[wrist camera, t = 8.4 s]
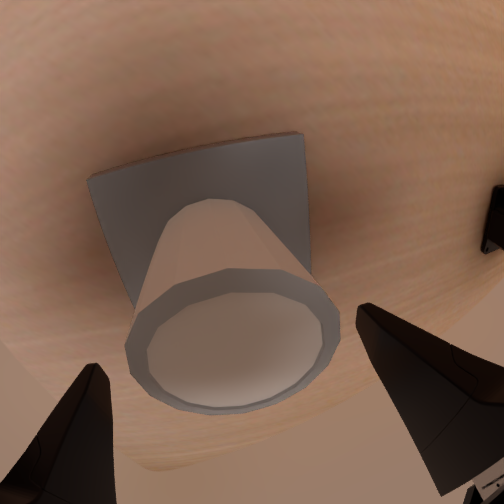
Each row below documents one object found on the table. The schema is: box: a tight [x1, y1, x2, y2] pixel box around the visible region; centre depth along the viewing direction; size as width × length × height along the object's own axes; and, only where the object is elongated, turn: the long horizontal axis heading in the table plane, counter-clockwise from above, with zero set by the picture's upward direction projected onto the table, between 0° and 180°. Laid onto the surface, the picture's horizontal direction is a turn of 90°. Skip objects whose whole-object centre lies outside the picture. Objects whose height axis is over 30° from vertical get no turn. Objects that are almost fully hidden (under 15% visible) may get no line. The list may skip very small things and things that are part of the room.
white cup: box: [125, 198, 340, 415], centre depth 12 cm, size 7×7×7 cm
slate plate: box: [86, 132, 311, 309], centre depth 15 cm, size 10×10×1 cm
